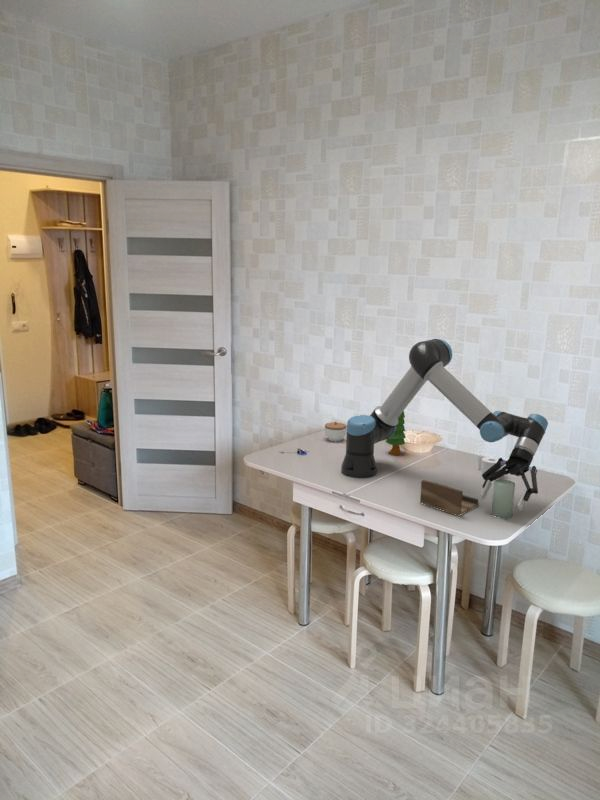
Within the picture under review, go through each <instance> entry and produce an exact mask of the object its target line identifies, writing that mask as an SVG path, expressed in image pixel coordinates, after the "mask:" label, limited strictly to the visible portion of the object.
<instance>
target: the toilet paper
mask: <svg viewBox="0 0 600 800" xmlns="http://www.w3.org/2000/svg"><path fill="white" fill-rule="evenodd" d="M477 459H478V464H477V465H478V471H480V476H481V477H482V474H483V473H484V472H486V471H487V470H488V469H489V468H491V467H492V466H493V465H494V464H495V463H497V461H498V460H499V457H493V456H492V457H491V456H478V457H477ZM502 468H503V466H502V467H501V468H500V469H502ZM500 469H499V470H500ZM497 471H498V470H497ZM500 478H501V477H499V478H498V479H500Z"/></svg>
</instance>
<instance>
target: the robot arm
mask: <svg viewBox="0 0 600 800" xmlns="http://www.w3.org/2000/svg"><path fill="white" fill-rule="evenodd" d="M452 359H453V349H452V347H451V345H450V344H449V342H447V341H446V340H444V339H441V338H431V339H428V340H423V341H422V340H421V341H418V342H417V343H415V344H414V345H413V346H412V347H411V349H410V350H409V353H408V361H409V364H410V367H409V369H408V370H407V372H406V373H405V374H404V376H403V377H402V378H401V379H400V381H399V382H398V383H397V385H396V386H395V387H394V389H393V390H392V391H391V393H390V394H389V395H388V396H387V398H385V401H383V403H382V404H381V406H380V405H379V406H376V407H375V408H374V409H373V411H372V412H371V413H370V414H369V415H367V414H359V415H354V416H351V417H349V419H348V420H347V423H346V438H345V439H346V440H345V441H346V442H345V445H346V447H345V455H344V458H343V461H342V462H341V468H340V469H341V470H340V471H341V473H342V474H344V475H345V476H349V477H354V478H371V477H373V476H376V475H377V473H378V466H377V462H376V460H375V456H374V452H375V451H374V450H375V444H377V443H380V442H382V441H386V440H387V439H388V438H389V437H391V436H392V435H393V434H394V432H395V430H396V425H397V424H398V417H399V416H400V415H401V413H402V412H403V411H404V412H405V409H406V408H407V407H408V405H409V404H410V403H411V402H412V401H413V399H414V398H415V396H416V395H417V394H418V392H419V391H420V390H421V389H422V388H423V386H424V385H425V384H426V382H429V383H431V385H432V386H434V387H435V388H436V389H437V390H438V391H439V392H440V393H441V394H442V395H443V396H444V397H445V398H446V399H447V400H448V401H449V402H450V403H451V404H452V405H453V406H455V408H456V409H457V410H458V411H460V412H461V413H462V414H463V415H464V417H466V418H467V419H468V420H469V421H470V422H471V423H472V424H473V425H474V426H475V427H476V428H477V429H478V430H479V434H480V437H481V439H482V440H484V441H485V442H487V443H495V442H499V441H500V440H502V439H504V438H505V437H507V436H508V435H510V436H513V437H517V440H516V441H515V444H514V446H513V448H512V450H511V453H510V454H509V458H508V459H507V460H505V459H503V457H498V459H499V460H498V461H497V463H495V464H494V465H493V466H492V467H491V468H489V469H488V470H487V471H486V472H484V473H483V474H482V476H481V477H482V478H483V480H484V481H483V484H482V490H481V491H482V492H481V493H480V496H481V498H482V500H485V499H486V497H487V495H488V493H489V491H490V489H491V487H492V485H493V484H492V482H494V481H495V480H499V479H500V478H502V477H503V476H506V475H508V474H509V475H514V476H516V477H521V479H522V481H523V483H524V485H525V488H526V489H523V491H522V494H521V495H520V498H519V500H518V503H517V505H516V506H517V509H518V510H520V511H522V510H523V506H524V504H525V502H528V501H529V499H530V498H531V496H532V494H535V495H537V494H539V490H538V481H537V473H538V469H537V467H536V465H533V466H531V464H532V461H533V460H534V456H535V455H536V454H537V450H538V448H539V446H540V445H541V441H542V439H543V438H544V436H545V434H546V430H547V427H548V426H549V421H548V420H547V419H546V417H545V416H543V415H541V414H538V413H530V414H529V415H528V416H527V417H522V416H518V415H515V414H511V413H508V412H505V411H501V410H494V411H493V412H492V411H491V410H490V409H489V408H488V407H487V406H485V404H483V402H481V401H480V400H479V399H478V398H477V397H476V396H475V395H474V394H473V393H472V392H470V390H469V389H467V387H466V386H464V385H463V384H462V383H461V382H460V381H459V380H458V379H457V378H456V377H455V376H454V375H453V374H452V373H450V371H449V370H448V369H447V368H445V367H447V366H448V365H449V364H450V363H451V361H452ZM501 467H502V468H501ZM500 468H501V469H500ZM499 469H500V470H499ZM497 470H498V471H497ZM527 472H530V476H531V477H530V478H531V483H532V484H531V486H532V488H531V486H530V483H529V481H528V479H527V476H526V473H527ZM499 477H500V478H499Z"/></svg>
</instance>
